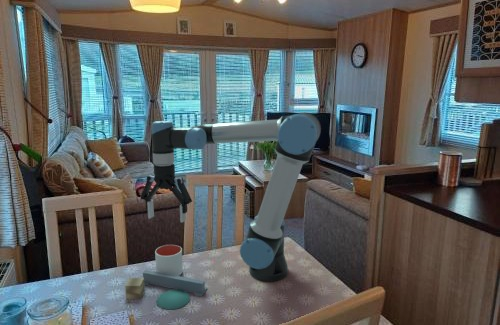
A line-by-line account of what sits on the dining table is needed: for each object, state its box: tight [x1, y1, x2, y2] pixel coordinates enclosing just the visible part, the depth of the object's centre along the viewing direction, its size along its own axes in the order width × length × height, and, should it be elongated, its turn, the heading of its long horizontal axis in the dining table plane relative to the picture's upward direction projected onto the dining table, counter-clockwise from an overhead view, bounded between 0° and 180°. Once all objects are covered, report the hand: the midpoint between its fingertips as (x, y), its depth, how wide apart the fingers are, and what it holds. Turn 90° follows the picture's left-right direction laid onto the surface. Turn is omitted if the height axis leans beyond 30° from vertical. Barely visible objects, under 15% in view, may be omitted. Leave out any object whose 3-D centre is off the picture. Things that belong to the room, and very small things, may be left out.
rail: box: [142, 269, 208, 298], centre depth 125 cm, size 24×5×4 cm, turn 72°
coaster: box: [156, 289, 191, 311], centre depth 117 cm, size 11×11×1 cm
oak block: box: [124, 277, 146, 300], centre depth 120 cm, size 5×5×5 cm
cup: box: [154, 244, 184, 276], centre depth 133 cm, size 10×10×10 cm
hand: (166, 219), depth 129 cm, fingers open, 13 cm apart
